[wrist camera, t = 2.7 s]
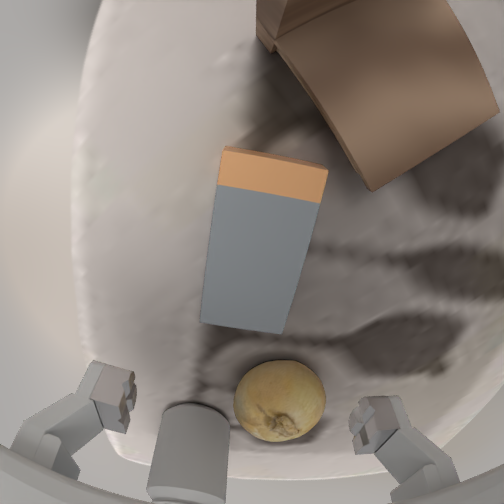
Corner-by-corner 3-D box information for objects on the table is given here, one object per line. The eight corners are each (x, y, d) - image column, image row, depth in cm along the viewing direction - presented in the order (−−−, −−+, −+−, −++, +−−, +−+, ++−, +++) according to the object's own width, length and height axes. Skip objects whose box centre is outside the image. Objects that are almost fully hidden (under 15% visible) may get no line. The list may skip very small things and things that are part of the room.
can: (150, 407, 30) (126, 500, 19) (202, 391, 28) (186, 501, 17) (192, 437, 33) (181, 522, 22) (243, 425, 31) (240, 520, 20)
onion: (335, 379, 27) (349, 440, 21) (268, 410, 29) (270, 467, 23) (290, 333, 24) (299, 403, 18) (216, 371, 27) (209, 437, 20)
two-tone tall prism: (280, 317, 24) (281, 334, 22) (203, 305, 23) (199, 322, 22) (321, 164, 18) (328, 170, 17) (225, 145, 18) (222, 150, 16)
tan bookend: (464, 106, 16) (571, 129, 7) (350, 175, 18) (427, 241, 10) (387, -25, 12) (469, -83, 3) (255, 35, 15) (256, -36, 6)
